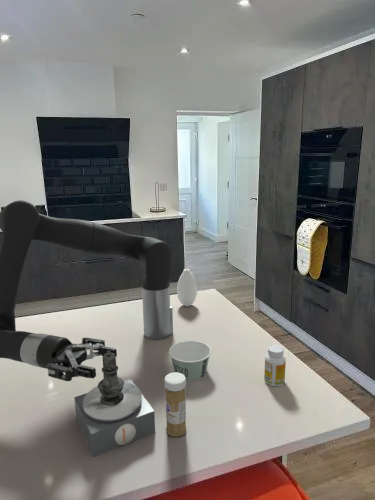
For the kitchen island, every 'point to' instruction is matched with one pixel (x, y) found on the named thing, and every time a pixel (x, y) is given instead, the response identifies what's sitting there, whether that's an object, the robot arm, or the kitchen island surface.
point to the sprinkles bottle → (175, 404)
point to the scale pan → (113, 412)
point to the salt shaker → (110, 381)
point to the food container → (190, 358)
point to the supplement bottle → (275, 366)
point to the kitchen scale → (115, 427)
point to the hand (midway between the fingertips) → (106, 363)
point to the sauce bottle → (186, 288)
